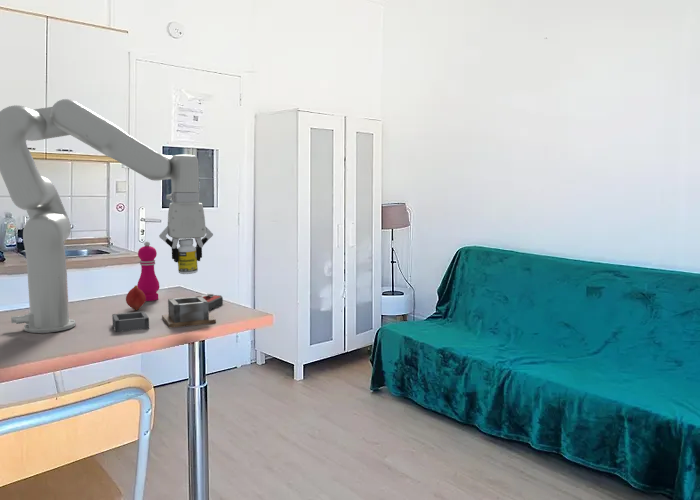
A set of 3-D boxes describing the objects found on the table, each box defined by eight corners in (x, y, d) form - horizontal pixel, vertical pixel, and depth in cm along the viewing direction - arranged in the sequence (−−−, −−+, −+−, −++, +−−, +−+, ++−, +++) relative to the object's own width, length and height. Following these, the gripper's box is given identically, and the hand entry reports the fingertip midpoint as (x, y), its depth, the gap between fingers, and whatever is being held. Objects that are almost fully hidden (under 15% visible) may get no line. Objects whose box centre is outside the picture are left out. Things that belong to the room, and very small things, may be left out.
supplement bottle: (177, 275, 164) (175, 241, 162) (179, 271, 169) (177, 238, 167) (197, 273, 164) (194, 239, 163) (198, 270, 170) (196, 237, 168)
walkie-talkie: (201, 302, 195) (170, 315, 176) (201, 289, 194) (169, 301, 175) (225, 303, 193) (196, 317, 174) (225, 291, 192) (195, 303, 173)
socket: (169, 327, 160) (168, 306, 159) (162, 318, 171) (161, 298, 170) (215, 322, 166) (215, 302, 165) (205, 314, 177) (205, 294, 176)
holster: (115, 332, 155) (115, 321, 155) (112, 324, 163) (112, 314, 162) (149, 328, 159) (148, 317, 159) (144, 321, 167) (144, 311, 166)
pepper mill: (164, 298, 197) (162, 241, 195) (147, 302, 191) (145, 243, 189) (150, 296, 201) (148, 239, 199) (133, 299, 195) (130, 241, 193)
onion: (122, 311, 179) (121, 286, 178) (134, 307, 184) (133, 283, 183) (138, 313, 177) (137, 287, 176) (149, 309, 182) (149, 284, 181)
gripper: (156, 199, 157) (158, 264, 159) (218, 198, 164) (219, 261, 167) (152, 198, 163) (154, 261, 165) (212, 197, 171) (213, 257, 173)
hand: (187, 260), depth 166 cm, fingers closed on supplement bottle, 5 cm apart
